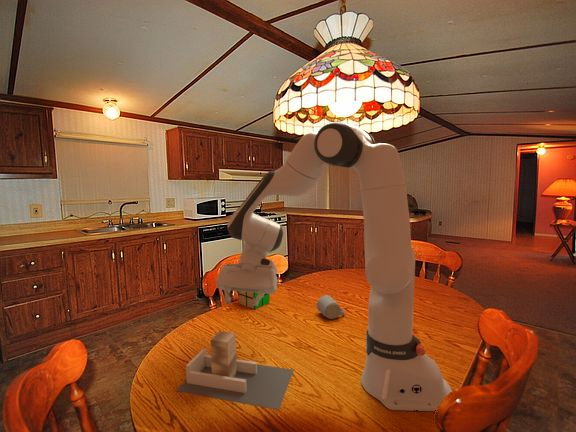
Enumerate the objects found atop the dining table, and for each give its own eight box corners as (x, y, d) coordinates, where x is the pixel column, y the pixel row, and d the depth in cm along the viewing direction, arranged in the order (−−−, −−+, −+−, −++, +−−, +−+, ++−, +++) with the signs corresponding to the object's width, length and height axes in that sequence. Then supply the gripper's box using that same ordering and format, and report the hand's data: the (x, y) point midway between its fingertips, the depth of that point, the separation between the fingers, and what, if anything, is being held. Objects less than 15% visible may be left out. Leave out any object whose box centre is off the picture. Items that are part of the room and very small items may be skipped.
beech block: (236, 373, 86) (235, 333, 84) (229, 384, 81) (227, 342, 80) (220, 371, 87) (219, 331, 86) (212, 381, 82) (210, 340, 81)
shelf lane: (294, 371, 87) (293, 353, 86) (278, 411, 72) (278, 389, 71) (206, 358, 94) (206, 341, 93) (175, 392, 79) (174, 372, 78)
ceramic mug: (325, 321, 118) (325, 303, 118) (316, 313, 126) (316, 295, 125) (348, 317, 122) (349, 299, 121) (338, 310, 130) (339, 292, 129)
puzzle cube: (254, 298, 145) (254, 277, 144) (270, 303, 138) (269, 281, 137) (239, 304, 137) (238, 283, 136) (254, 310, 131) (254, 287, 130)
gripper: (220, 258, 103) (206, 296, 94) (277, 261, 98) (269, 302, 89) (226, 267, 107) (214, 304, 99) (281, 271, 102) (273, 310, 94)
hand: (240, 303), depth 94 cm, fingers open, 8 cm apart
